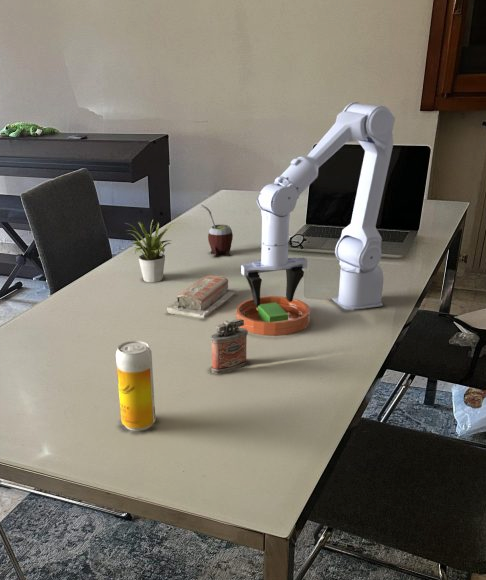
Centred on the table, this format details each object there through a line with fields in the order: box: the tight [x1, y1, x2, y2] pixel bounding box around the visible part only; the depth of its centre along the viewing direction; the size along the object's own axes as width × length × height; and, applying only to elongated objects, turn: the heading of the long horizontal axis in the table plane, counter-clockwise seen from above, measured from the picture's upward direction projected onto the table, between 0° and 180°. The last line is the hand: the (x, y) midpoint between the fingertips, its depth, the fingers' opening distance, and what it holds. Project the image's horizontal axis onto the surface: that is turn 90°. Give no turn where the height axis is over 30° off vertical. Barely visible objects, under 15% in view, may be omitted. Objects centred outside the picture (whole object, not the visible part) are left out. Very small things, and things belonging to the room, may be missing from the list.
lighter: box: [210, 318, 249, 375], centre depth 147 cm, size 8×3×10 cm, turn 117°
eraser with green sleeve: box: [256, 302, 289, 322], centre depth 167 cm, size 4×10×3 cm, turn 11°
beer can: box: [115, 340, 156, 432], centre depth 128 cm, size 6×6×15 cm
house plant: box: [125, 219, 175, 283], centre depth 195 cm, size 14×14×16 cm
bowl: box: [235, 295, 311, 336], centre depth 167 cm, size 16×16×4 cm
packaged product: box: [166, 274, 237, 319], centre depth 179 cm, size 18×5×10 cm
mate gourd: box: [200, 204, 234, 258], centre depth 210 cm, size 8×8×15 cm
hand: (273, 302), depth 165 cm, fingers open, 7 cm apart
